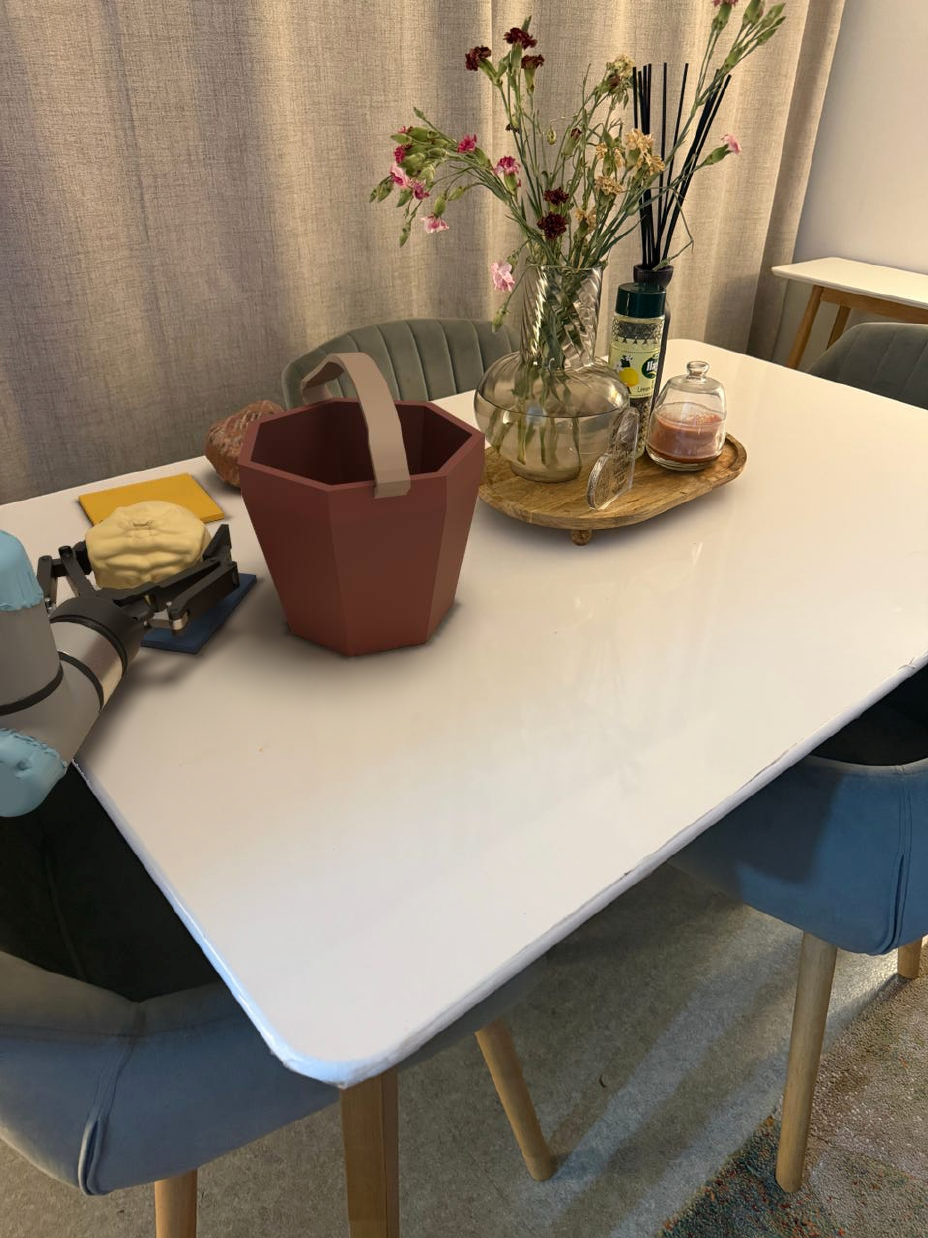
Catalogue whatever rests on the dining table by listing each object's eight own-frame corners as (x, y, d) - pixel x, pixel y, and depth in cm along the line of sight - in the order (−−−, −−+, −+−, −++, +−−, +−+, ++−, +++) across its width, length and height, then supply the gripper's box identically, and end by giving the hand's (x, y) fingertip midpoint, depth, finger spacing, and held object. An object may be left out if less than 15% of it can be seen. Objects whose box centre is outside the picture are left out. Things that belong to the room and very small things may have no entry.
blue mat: (65, 634, 87) (63, 627, 87) (139, 565, 98) (138, 559, 98) (196, 653, 84) (195, 647, 84) (257, 581, 96) (256, 574, 95)
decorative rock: (264, 453, 125) (255, 383, 120) (322, 472, 120) (316, 400, 115) (191, 484, 116) (178, 410, 111) (250, 506, 111) (240, 430, 106)
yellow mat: (106, 546, 102) (105, 540, 102) (79, 501, 112) (77, 495, 111) (224, 518, 108) (223, 512, 108) (188, 477, 118) (187, 472, 118)
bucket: (276, 554, 101) (248, 331, 87) (469, 546, 103) (471, 326, 89) (255, 684, 80) (215, 420, 67) (496, 671, 82) (505, 412, 69)
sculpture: (95, 636, 85) (68, 536, 79) (116, 574, 95) (94, 481, 89) (217, 627, 87) (199, 528, 81) (225, 567, 97) (210, 475, 91)
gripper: (-49, 687, 75) (61, 562, 93) (229, 698, 74) (286, 569, 93) (-78, 613, 71) (43, 497, 89) (217, 623, 70) (278, 504, 88)
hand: (167, 533), depth 91 cm, fingers closed on sculpture, 12 cm apart
